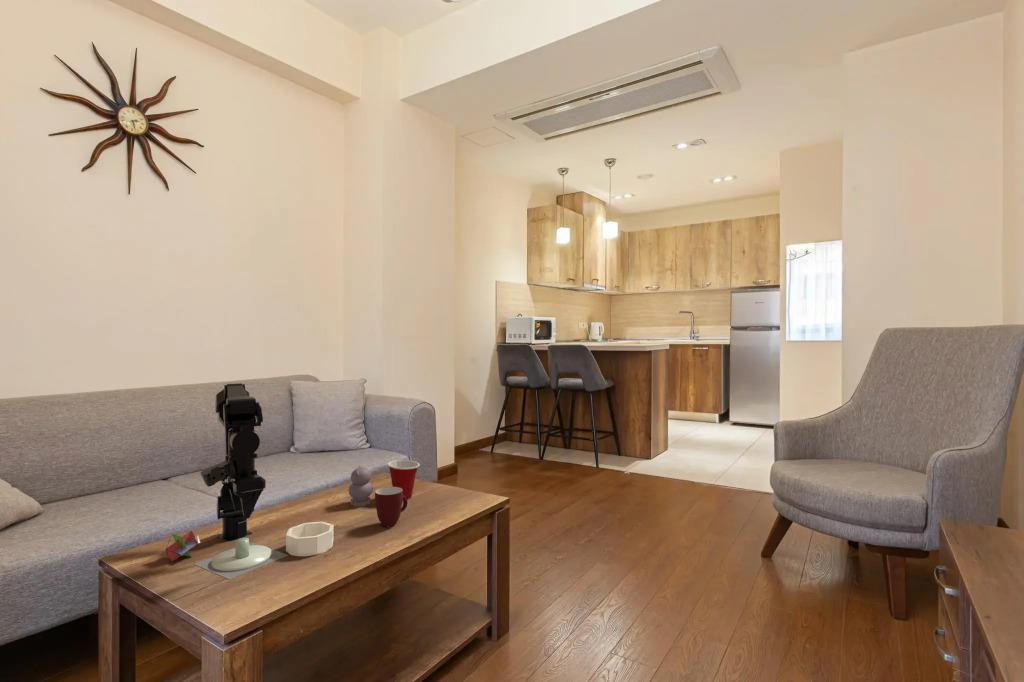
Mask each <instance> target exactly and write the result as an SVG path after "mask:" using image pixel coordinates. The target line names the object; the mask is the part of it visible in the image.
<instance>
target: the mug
mask: <svg viewBox="0 0 1024 682" xmlns="http://www.w3.org/2000/svg"><path fill="white" fill-rule="evenodd" d="M374 504H375V509H376V516H377V518H378V520H379V521H378V522H380V525H382V526H383V527H384V526H385V527H386V528H390V526H391V527H394V526H396V525H397V523H398V521H399V518H400V516H401V513H402V512H404V511H405V510H406V509H407V506H408V499H407V498H406V497H405V496H403V489H402V488H399V487H392V486H385V487H380V488H378V489H376V490H374Z"/></svg>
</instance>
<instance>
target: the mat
mask: <svg viewBox="0 0 1024 682" xmlns="http://www.w3.org/2000/svg"><path fill="white" fill-rule="evenodd" d="M251 545H260V546H263V545H261V544H259V543H257V542H251V543H249V546H251ZM270 549H271V557H270V559H269V560H267V561H266V562H264V563H262V564H260V565H258V566H255V567H252V568H249V569H245V570H240V571H231V572H225V571H217V570H215V569H213V568H212V566H211V562H212V559H213V558H214V557H215V556H212V557H210V558H207V559H203V560H201V561H198V562H196V563H193V565H195V566H196V567H199V568H201V569H203V570H206V571H209V572H211V573H213V574H215V575H218V576H220V577H222V578H225V579H227V580H233V579H234V578H237V577H240V576H241V575H244V574H246V573H249V572H251V571H252V572H253V570H256V569H259V568H261V567H263V566H266V565H270V564H271V563H273V562H276V561H278V560H280V559H283V558H286V557H288V556H289V554H288V553H284V552H281V551H278V550H276V549H273V548H270Z"/></svg>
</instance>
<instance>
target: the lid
mask: <svg viewBox="0 0 1024 682" xmlns="http://www.w3.org/2000/svg"><path fill="white" fill-rule="evenodd" d="M249 544H250V538H249V537H241V538H238V539H235V540H234V548H230V549H227V550H225V551H223V552H220V553H218V554H217V555H214V556H213V557H214V558H213V559H212V562H211V566H212V568H213V569H215V570H217V571H225V572H231V571H240V570H245V569H249V568H252V567H255V566H258V565H260V564H262V563H264V562H266V561H267V560H269V559H270V557H271V549H272V548H270V547H269V546H266V545H262V546H260V545H261V544H259V545H251V546H249Z"/></svg>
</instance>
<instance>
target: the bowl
mask: <svg viewBox="0 0 1024 682" xmlns="http://www.w3.org/2000/svg"><path fill="white" fill-rule="evenodd" d="M334 526H335V525H334V524H332V523H328V522H325V521H315V522H313V521H312V522H303V523H301V524H298V525H295V526H292V527H289V528H288V530H287V533H286V534H285V552H286V553H287V554H288V555H291V556H292V557H310V556H316V555H320V554H323V553H325V552H327V551H329V550H330V549H331V548H332V547H333V546H334V535H335V534H334V533H335V532H334V530H335V529H334Z"/></svg>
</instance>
